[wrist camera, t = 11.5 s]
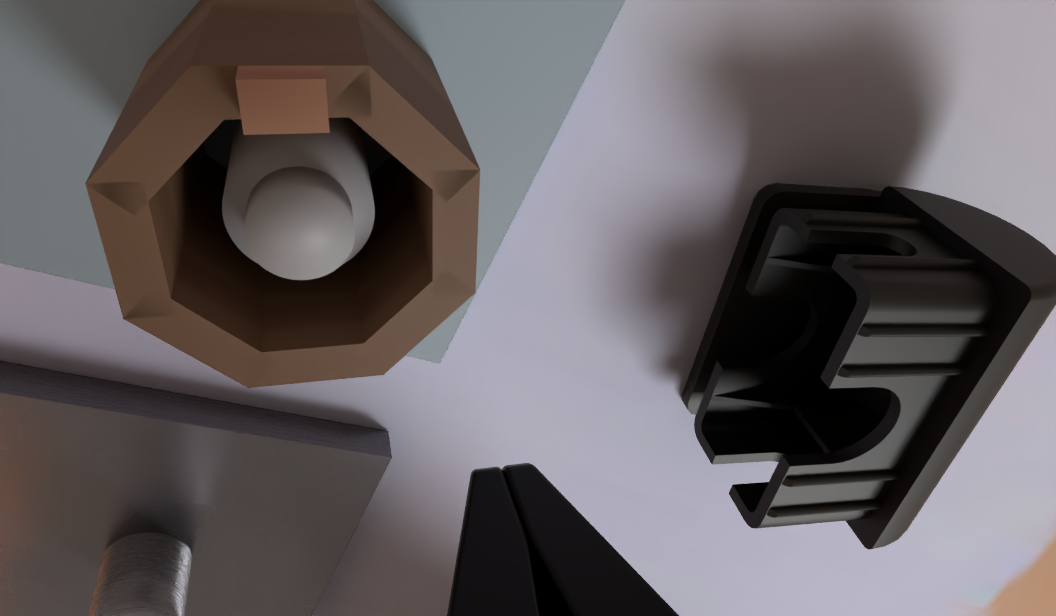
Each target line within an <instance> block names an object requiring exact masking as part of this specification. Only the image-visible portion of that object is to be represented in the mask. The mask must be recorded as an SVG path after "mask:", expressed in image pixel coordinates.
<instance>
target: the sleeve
mask: <svg viewBox="0 0 1056 616" xmlns="http://www.w3.org/2000/svg"><path fill="white" fill-rule="evenodd" d="M343 117H349V118H351V119H352V120H353V121H354V122H355V123H356V124H357V125H359V126H360V127H361V128H362V129H363V130H364V131H366V132H367V133H368V134H369V135H370V136H371V137H372V138H374V139H375V140H376V141H377V142H378V143H379V144H380V145H382V146H383V147H384V148H385V149H386V150H387V151H389V152H390V153H391V154H392V155H391V156H390V157H389V158H388V159H387V160H386V161H385V162H384V163H383V164H382V165H381V166H380V167H379V168H378V169H377V170H376V171H375V172H374V173H373V174H372V175H371V176H370V182H371V188H372V194H373V200H374V207H375V219H374V224H373V228H372V231H371V234H370V236H369V238H368V240H367V242H366V243H365V245H364V246H363V248H362V249H361V250H360V251H359V252H358V253H357V254H356V255H355V256H354V257H353V258H352V259H350V260H349V261H347V262H346V263H344V264H343V265H341V266H340V267H339V268H337V269H336V270H334V271H333V272H331V273H329V274H327V275H325V276H322V277H320V278H315V279H310V280H292V279H287V278H283V277H280V276H277V275H275V274H272V273H271V272H269V271H267V270H265V269H264V268H263V267H262V266H260V265H259V264H258V263H256V262H254V261H253V260H251V259H250V258H249V257H247V256H246V255H245V254H244V253H243V252H242V251H241V250H240V249H239V248H238V247H237V246H236V244H235V243H234V242H233V240H232V239H231V237H230V235H229V234H228V231H227V229H226V227H225V224H224V220H223V214H222V199H223V194H224V188H225V182H226V177H227V171H228V169H227V168H225V167H224V166H223V165H221V164H220V163H218V162H217V161H216V160H214V159H213V158H212V157H210V156H209V155H207V154H206V151H205V145H204V141H205V140H206V139H207V137H208V136H209V135H210V134H211V133H212V132H213V131H214V130H215V129H216V128H217V127H218V126H219V125H220V123H221V122H222V121H223V120H235V119H241V121H242V127H243V134H244V135H259V134H303V133H330V130H329V118H343ZM85 185H86V188H87V191H88V195H89V199H90V202H91V206H92V209H93V213H94V216H95V220H96V223H97V227H98V230H99V234H100V237H101V241H102V244H103V248H104V252H105V255H106V259H107V262H108V266H109V269H110V273H111V276H112V280H113V283H114V287H115V290H116V294H117V297H118V301H119V305H120V308H121V312H122V315H123V319H125V320H127V321H128V322H130V323H132V324H134V325H136V326H137V327H139V328H141V329H143V330H145V331H146V332H148V333H150V334H152V335H154V336H156V337H157V338H159V339H161V340H163V341H165V342H166V343H168V344H170V345H172V346H174V347H175V348H177V349H179V350H181V351H183V352H184V353H186V354H188V355H190V356H192V357H194V358H195V359H197V360H199V361H201V362H203V363H204V364H206V365H208V366H210V367H212V368H213V369H215V370H217V371H219V372H221V373H222V374H224V375H226V376H228V377H230V378H232V379H233V380H235V381H237V382H239V383H241V384H242V385H244V386H246V387H248V388H251V387H261V386H272V385H282V384H293V383H303V382H313V381H324V380H334V379H344V378H355V377H365V376H376V375H384V374H385V373H386V372H387V371H388V370H389V369H390V368H391V367H393V366H394V365H395V364H396V363H397V362H398V361H399V360H400V359H402V358H403V357H404V356H405V355H406V354H407V353H408V352H409V351H411V350H412V349H413V348H414V347H415V346H416V345H417V344H418V343H420V342H421V341H422V340H423V339H424V338H425V337H426V336H427V335H429V334H430V333H431V332H432V331H433V330H434V329H435V328H436V327H438V326H439V325H440V324H441V323H442V322H443V321H444V320H445V319H447V318H448V317H449V316H450V315H451V314H452V313H453V312H454V311H456V310H457V309H458V308H459V307H460V306H461V305H462V304H463V303H465V302H466V301H467V300H468V299H469V298H470V297H471V296H473V295H474V294H475V293H476V266H477V241H478V215H479V189H480V168H479V165H478V163H477V161H476V159H475V156H474V154H473V152H472V149H471V147H470V145H469V143H468V140H467V138H466V136H465V134H464V131H463V129H462V127H461V124H460V122H459V120H458V118H457V115H456V113H455V111H454V108H453V106H452V104H451V102H450V99H449V97H448V95H447V92H446V90H445V88H444V86H443V83H442V81H441V79H440V76H439V74H438V72H437V70H436V67H435V65H434V63H433V61H432V59H431V58H430V57H429V56H428V55H427V54H426V53H425V52H424V51H423V50H422V49H421V48H420V47H419V46H418V45H417V44H416V43H415V42H414V41H413V40H412V39H411V38H410V37H409V36H408V35H407V34H406V33H405V32H404V31H403V30H402V29H401V28H400V27H399V26H398V25H397V24H396V23H395V22H394V21H393V20H392V19H391V18H390V17H389V16H388V15H387V14H386V13H385V12H384V11H383V10H382V9H381V8H380V7H379V6H378V5H377V4H376V3H375V2H374V1H373V0H200V1H199V2H198V3H197V4H196V5H195V7H194V8H193V9H192V10H191V11H190V12H189V13H188V15H187V16H186V17H185V18H184V19H183V20H182V21H181V23H180V24H179V25H178V26H177V27H176V28H175V30H174V31H173V32H172V33H171V34H170V35H169V36H168V38H167V39H166V40H165V41H164V42H163V43H162V44H161V46H160V47H159V48H158V49H157V50H156V51H155V53H154V54H153V55H152V56H151V57H150V58H149V59H148V61H147V63H146V65H145V67H144V69H143V71H142V73H141V75H140V77H139V79H138V81H137V83H136V84H135V86H134V88H133V90H132V92H131V94H130V96H129V98H128V100H127V102H126V104H125V106H124V108H123V110H122V112H121V114H120V116H119V118H118V120H117V122H116V124H115V126H114V128H113V130H112V132H111V134H110V136H109V138H108V140H107V142H106V144H105V146H104V148H103V149H102V151H101V153H100V155H99V157H98V159H97V161H96V163H95V165H94V167H93V169H92V171H91V173H90V175H89V177H88V179H87V181H86V183H85Z"/></svg>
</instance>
